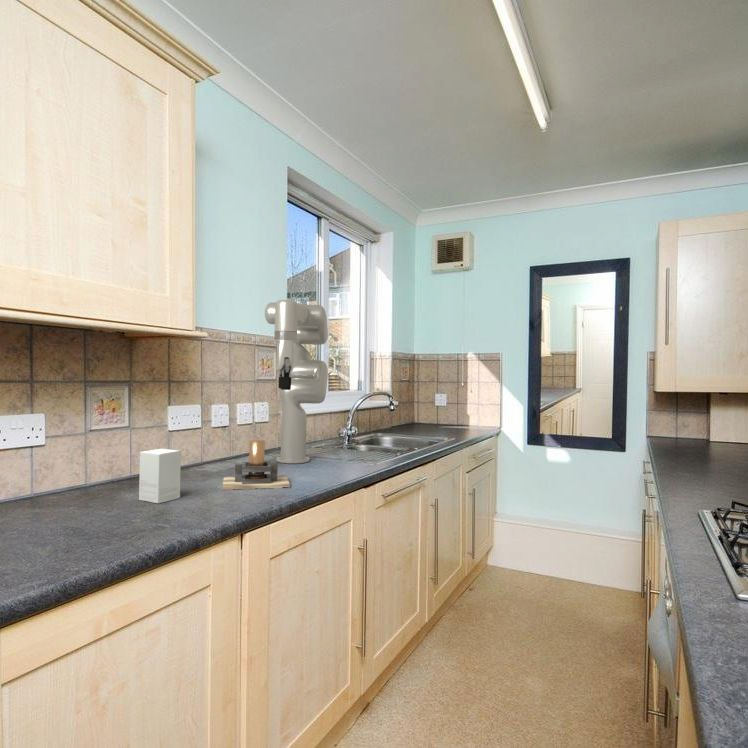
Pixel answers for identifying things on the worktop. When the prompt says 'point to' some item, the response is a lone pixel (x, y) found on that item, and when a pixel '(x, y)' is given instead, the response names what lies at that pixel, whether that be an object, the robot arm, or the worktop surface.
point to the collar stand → (245, 483)
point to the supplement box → (159, 475)
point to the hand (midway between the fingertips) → (284, 389)
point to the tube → (256, 457)
